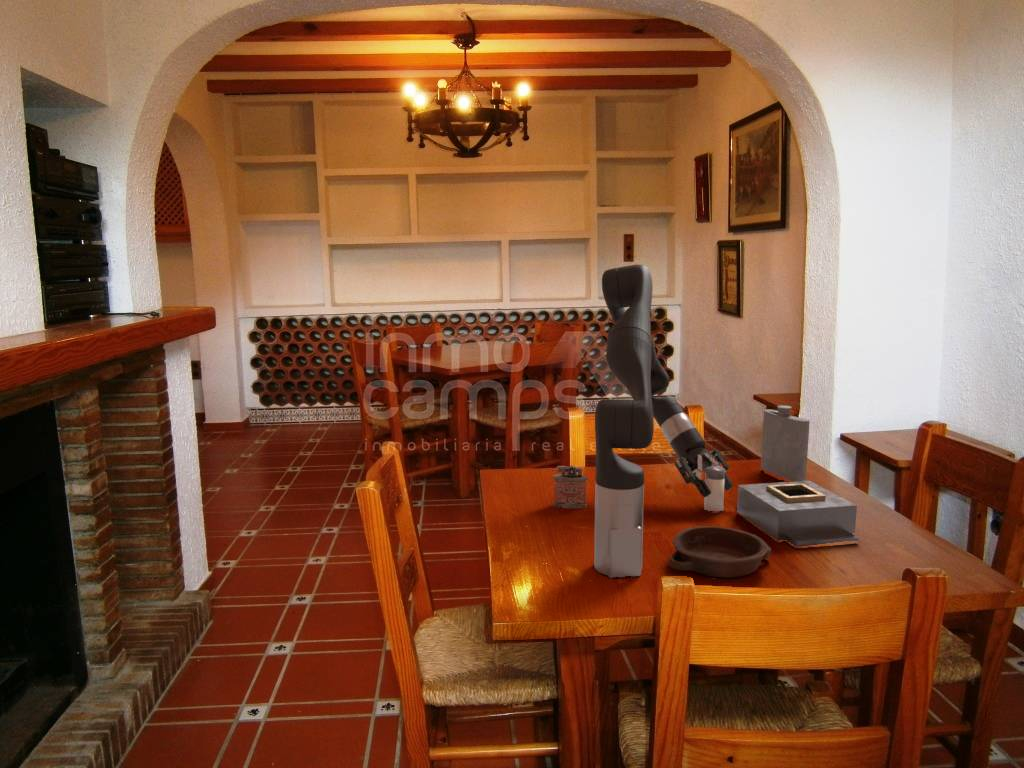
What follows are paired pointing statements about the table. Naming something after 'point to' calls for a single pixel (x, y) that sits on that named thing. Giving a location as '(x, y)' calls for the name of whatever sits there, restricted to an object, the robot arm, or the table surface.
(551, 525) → the table surface
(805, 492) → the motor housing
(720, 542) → the dish
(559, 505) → the lighter
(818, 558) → the table surface
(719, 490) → the salt shaker
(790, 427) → the hip flask
